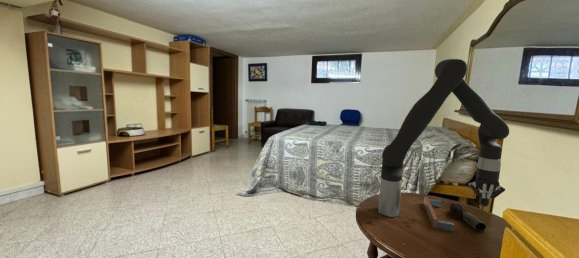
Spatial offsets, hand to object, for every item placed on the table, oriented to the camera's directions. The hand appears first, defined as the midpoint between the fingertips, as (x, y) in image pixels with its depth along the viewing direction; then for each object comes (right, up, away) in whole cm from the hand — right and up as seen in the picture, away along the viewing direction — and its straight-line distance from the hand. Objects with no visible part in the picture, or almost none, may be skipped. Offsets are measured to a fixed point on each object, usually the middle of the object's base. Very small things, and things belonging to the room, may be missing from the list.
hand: (483, 205), depth 103 cm
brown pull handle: (-15, -7, +7) cm, 18 cm away
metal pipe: (-6, -8, +4) cm, 11 cm away
